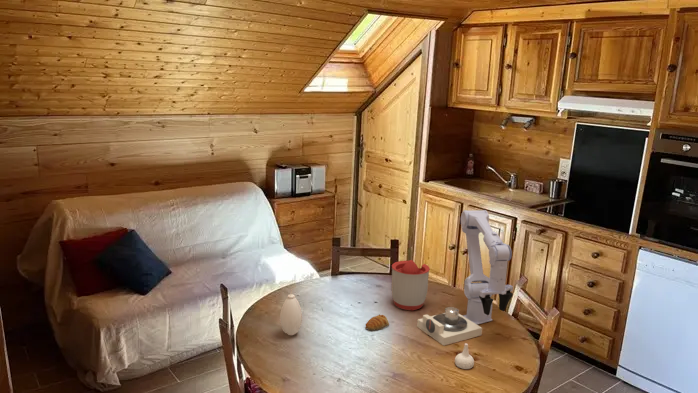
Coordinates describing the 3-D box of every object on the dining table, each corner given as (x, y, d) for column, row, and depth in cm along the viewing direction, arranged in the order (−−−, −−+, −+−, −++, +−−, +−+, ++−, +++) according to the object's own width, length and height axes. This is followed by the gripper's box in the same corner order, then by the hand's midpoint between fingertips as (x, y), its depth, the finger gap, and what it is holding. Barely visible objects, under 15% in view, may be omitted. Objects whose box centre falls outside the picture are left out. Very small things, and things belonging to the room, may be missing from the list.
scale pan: (451, 313, 206) (451, 311, 206) (474, 327, 195) (474, 325, 195) (425, 319, 200) (425, 317, 199) (447, 334, 188) (447, 332, 188)
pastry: (373, 334, 194) (374, 324, 193) (360, 327, 198) (361, 318, 197) (390, 326, 200) (390, 317, 199) (377, 320, 205) (377, 311, 204)
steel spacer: (451, 318, 200) (452, 305, 199) (460, 323, 196) (461, 311, 194) (441, 320, 197) (442, 308, 196) (450, 326, 193) (451, 313, 192)
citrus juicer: (434, 301, 223) (438, 257, 219) (417, 316, 209) (420, 269, 204) (401, 293, 231) (404, 250, 227) (382, 306, 217) (385, 261, 212)
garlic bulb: (461, 373, 171) (464, 352, 168) (450, 361, 176) (453, 341, 174) (476, 369, 173) (480, 348, 171) (465, 358, 179) (469, 338, 176)
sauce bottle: (305, 332, 193) (306, 286, 189) (294, 341, 186) (295, 294, 182) (287, 327, 196) (287, 282, 192) (276, 336, 189) (276, 290, 185)
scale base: (453, 317, 209) (454, 302, 207) (481, 335, 195) (483, 319, 194) (416, 326, 200) (417, 311, 199) (442, 345, 187) (444, 329, 185)
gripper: (490, 284, 181) (487, 320, 184) (520, 277, 188) (516, 312, 191) (476, 277, 187) (473, 312, 190) (506, 271, 194) (502, 305, 197)
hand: (494, 312), depth 191 cm, fingers open, 7 cm apart
